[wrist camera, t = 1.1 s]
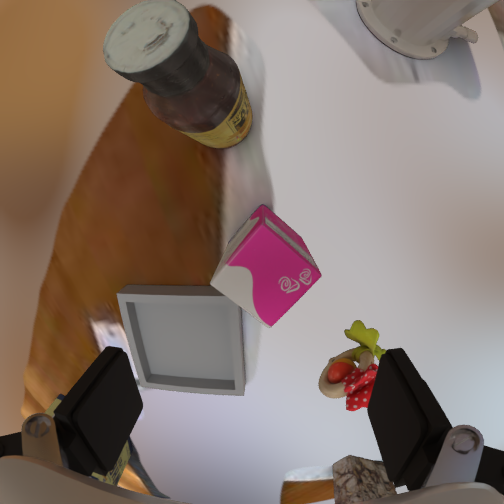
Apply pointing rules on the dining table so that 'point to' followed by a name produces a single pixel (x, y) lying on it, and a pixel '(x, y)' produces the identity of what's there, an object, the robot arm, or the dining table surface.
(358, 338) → the bird rattle
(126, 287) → the slate tray
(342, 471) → the stone block
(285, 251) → the supplement box
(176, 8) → the sauce bottle
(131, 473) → the dining table surface
